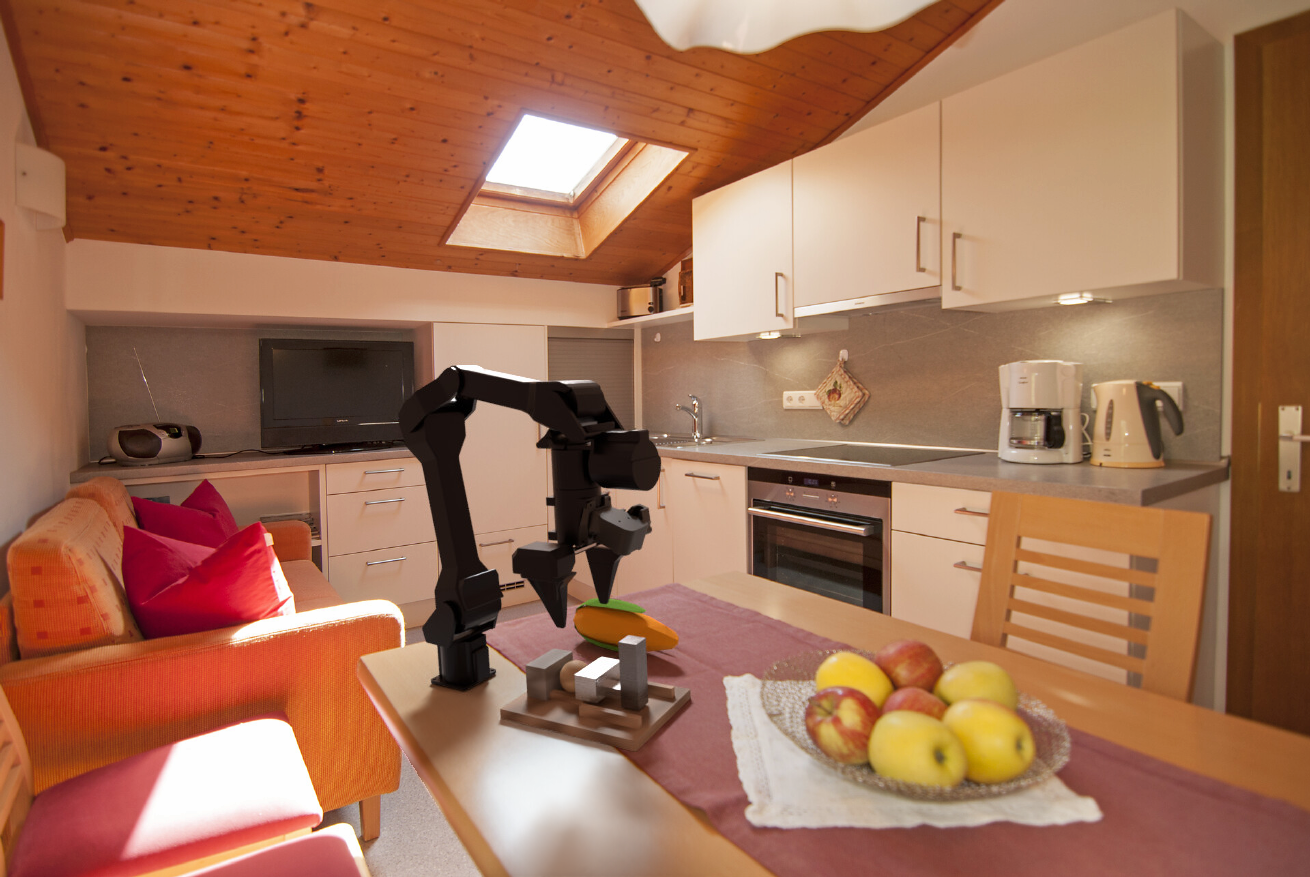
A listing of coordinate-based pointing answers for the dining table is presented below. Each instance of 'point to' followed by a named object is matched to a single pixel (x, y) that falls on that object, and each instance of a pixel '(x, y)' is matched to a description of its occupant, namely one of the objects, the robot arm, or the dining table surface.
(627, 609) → the corn
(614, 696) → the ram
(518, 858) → the dining table surface
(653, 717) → the base
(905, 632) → the dining table surface
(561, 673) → the tan wooden ball
